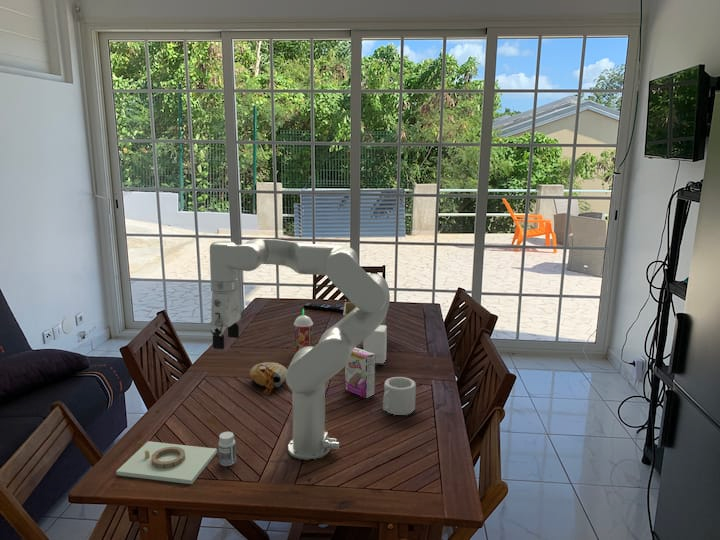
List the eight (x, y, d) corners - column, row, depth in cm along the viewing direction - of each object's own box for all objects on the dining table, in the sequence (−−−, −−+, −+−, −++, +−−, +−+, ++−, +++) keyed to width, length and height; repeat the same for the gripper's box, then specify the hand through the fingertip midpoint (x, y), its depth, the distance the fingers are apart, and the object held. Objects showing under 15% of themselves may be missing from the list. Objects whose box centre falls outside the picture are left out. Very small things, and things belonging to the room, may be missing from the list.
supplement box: (386, 358, 237) (387, 325, 233) (384, 366, 228) (384, 331, 225) (366, 356, 238) (366, 323, 235) (362, 364, 229) (362, 330, 226)
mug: (398, 399, 198) (398, 373, 196) (421, 409, 190) (422, 382, 188) (371, 411, 188) (372, 384, 186) (395, 422, 181) (396, 394, 179)
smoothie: (317, 352, 242) (316, 308, 238) (305, 358, 236) (304, 313, 231) (302, 348, 247) (301, 305, 243) (290, 354, 240) (289, 310, 236)
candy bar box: (343, 390, 204) (344, 348, 201) (353, 386, 208) (353, 345, 204) (366, 400, 197) (366, 356, 193) (375, 395, 200) (376, 353, 197)
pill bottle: (229, 455, 160) (228, 429, 159) (239, 461, 158) (238, 434, 156) (215, 462, 157) (214, 435, 155) (226, 468, 154) (224, 441, 152)
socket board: (217, 452, 162) (216, 442, 161) (191, 484, 146) (191, 473, 146) (148, 444, 166) (147, 435, 165) (116, 475, 150) (115, 464, 149)
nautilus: (282, 401, 197) (241, 401, 197) (292, 373, 217) (254, 374, 218) (280, 381, 194) (238, 381, 195) (290, 355, 215) (252, 356, 216)
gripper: (223, 293, 146) (225, 354, 150) (249, 279, 163) (250, 334, 166) (197, 291, 148) (199, 352, 151) (225, 277, 164) (227, 332, 168)
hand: (226, 342), depth 159 cm, fingers open, 9 cm apart
